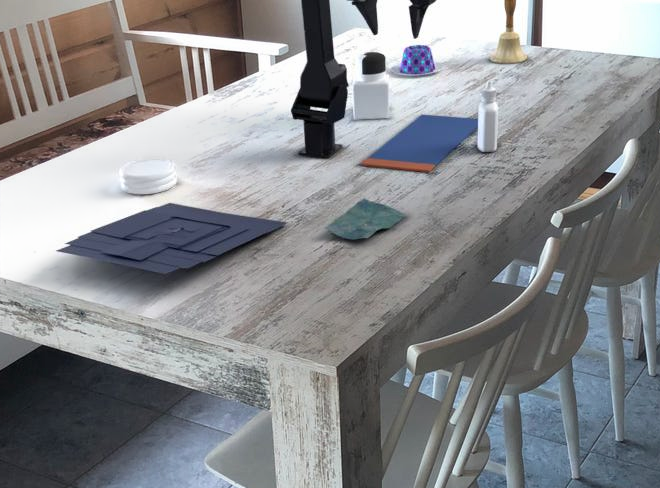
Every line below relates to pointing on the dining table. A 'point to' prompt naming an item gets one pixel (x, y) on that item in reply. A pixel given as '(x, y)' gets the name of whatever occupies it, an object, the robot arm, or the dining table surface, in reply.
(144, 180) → the white round disc stack
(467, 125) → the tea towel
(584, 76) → the dining table surface
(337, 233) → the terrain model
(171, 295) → the dining table surface
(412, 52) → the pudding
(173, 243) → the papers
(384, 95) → the medicine bottle
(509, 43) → the hand bell
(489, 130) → the eye dropper bottle
